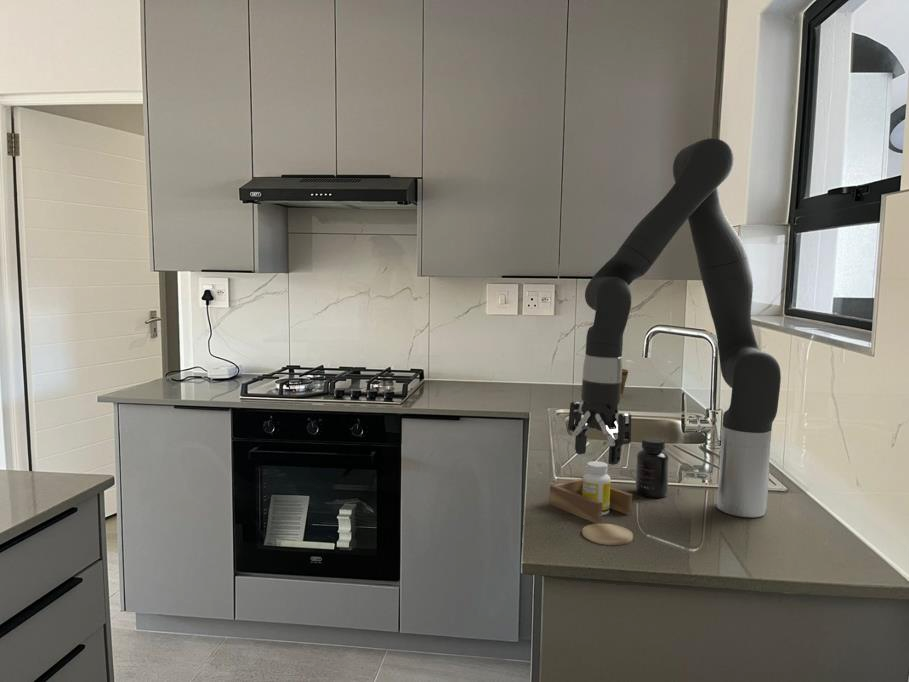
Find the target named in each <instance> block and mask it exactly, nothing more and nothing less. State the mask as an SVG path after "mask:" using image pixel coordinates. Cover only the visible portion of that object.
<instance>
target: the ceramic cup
mask: <svg viewBox="0 0 909 682" xmlns="http://www.w3.org/2000/svg"><path fill="white" fill-rule="evenodd" d="M628 375H629V370H628V369H626V368H625V369H624V368H622V380H621V394H620V396H622V397H623V394H624V391H625V386H626V382H627V379H628Z"/></svg>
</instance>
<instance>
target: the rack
mask: <svg viewBox="0 0 909 682" xmlns="http://www.w3.org/2000/svg"><path fill="white" fill-rule="evenodd" d="M548 504H549V506H552V507H554V508H557V509H558V510H559V509H560V510H562V511H564V512H567V513H569V514H571V515H574V516H577V517H579V518H582V519H584V520H587V521H589V522H592V523H593V524H602V516H603V515H602V502H599V501H596V500H593V499H591V498H588V497H585V496H583V477H581V478H576V479H574V480H568V481H565V482H564V481H563V482H560V483H556V484H551V485H550V486H549V502H548ZM632 507H633V493H630V492H628V491H624V490H620V489H618V488H615V487H611V486H610V507H609V509H611V510H614V511H616V512H619V513H622V514H625V515H627V516H629V515H632V512H633V511H632V509H633V508H632Z"/></svg>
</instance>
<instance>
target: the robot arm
mask: <svg viewBox="0 0 909 682" xmlns="http://www.w3.org/2000/svg"><path fill="white" fill-rule="evenodd" d="M734 164H735V157H734V152H733V150H732V148H731V146H730V145H729V144H728V143H727V142H726V141H724V140H722V139H719V138H715V137H712V138H711V137H710V138H705V139H701V140H699V141H696V142H694V143H692V144H690V145H688V146H685V147H683V148H682V149H681V150H680V151H679V152H678V153H676V155H675V158H674V160H673V165H672V175H673V179H674V182H675V183H674V184H673V185H672V187H671V188H670V189H669V191H668V192H666V194H665V196H664V197H663V198H662V199H661V200H660V201H659V202H658V203H657V204H656V205H655V206H654V207H653V208H652V209H651V210H650V211H649V212H648V213H647V214H646V215H645V216H644V217H643V218H642V219H641V220H640V221H639V222H638V224H637V225H636V226H635V227H634V228H633V229H632V230H631V232H630V234H629V235H628V236H627V237H626V239H625V240H624V242H623V243H622V244H621V246H620V247H619V248H618V249H617V251H616V253H615V254H614V255H613V256H612V257H611V258H610V259H609V260H607V262H606V263H604V265H603V266H602V267H600V269H599V270H598V271H597V272H596V273H595V274H594V275H593V276H592V278H591V279H590V280H589V282H588V283H587V285H586V288H585V291H584V299H585V303H586V304H587V306H588V307H589V308H590V309H592V310H593V311H595V313H594V319H593V325H592V326H590V327H588V330H587V331H586V339H585V342H586V343H585V354H584V355H585V356H584V360H583V361H584V362H583V367H582V368H583V369H582V380H581V381H582V382H581V396H580V397H581V400H582V401H583V402H582V401H572V402H570V403H569V404H570V405H569V412H568V413H569V414H568V422H567V429H568V431H569V432H570V431H571V432H573V434H574V435H575V440H574V441H575V442H574V449H575V453H576V454H577V455H580V456H581V455H585V453H586V451H587V438H588V436H587V435H586V434H587V433H588V432H589V430H590V429H596V430H597V431H601V432H602V434H603V435H604V436H605V437H606V438H607V440H608V442H609V444H610V445H609V447H608V448H609V449H608V460H607V461H608V463H607V464H608V465H611V466H614V465H617V464H619V462H620V461H621V454H622V453H621V452H622V446H624V445H629V444H631V442H632V436H631V435H632V413H630V412H625V413H624V412H623V413H622V412H619V409H618V405H619V404H620V402H621V397H620V394H621V380H622V369H623V361H622V359H623V357H622V356H623V345H624V344H623V343H624V342H623V341H624V333H625V330H626V327H627V323H628V319H629V315H630V312H631V308H632V292H631V288H630V285H631V284H632V283H633V282H634V281H635V280H636V279H639V278H641V277H643V276H644V275H645V274H646V273H648V271H649V270H650V269H651V267H652V266H653V265H654V263H655V262H656V260H657V259H658V258H659V257H660V255H661V253H662V252H663V251H664V250H665V248H666V247H667V245H668V244H669V243H670V242H671V240H672V239H673V237H674V236H675V235H676V234H677V232H678V231H679V230H680V228H681V227H682V226H683V225H684V224H685V223H686V221H687V220H688V224H689V227H690V228H689V229H690V233H691V238H692V241H693V246H694V250H695V254H696V259H697V264H698V269H699V272H700V273H699V274H700V277H701V281H702V285H703V288H704V293H705V296H706V301H707V304H708V308H709V312H710V315H711V318H712V322H713V325H714V329H715V335H716V340H717V341H716V342H717V349H718V357H719V365H720V366H719V367H720V371H721V375H722V378H723V380H724V382H725V383H726V384H727V385H728V387H729V388H731V397H730V405H729V407H728V409H726V410H725V411H724V412H723V416H722V426H721V427H722V428H721V443H720V457H719V468H718V469H719V472H718V483H717V484H718V486H717V498H716V508H717V509H718V510H720V511H721V512H723V513H725V514H728V515H732V516H736V517H742V518H760V517H763V516H765V514H766V511H767V507H768V494H769V484H770V483H769V482H770V481H769V480H770V468H771V467H770V457H771V455H770V454H771V443H772V430H773V423H774V420H775V418H776V417H777V413H778V407H779V400H780V399H779V398H780V391H781V379H782V376H781V375H782V374H781V368H780V364H779V362H778V361H777V359H776V358H775V357H774V355H771V354H770V353H768V352H766V351H762V350H760V348H759V345H758V343H757V339H756V335H755V332H754V329H753V324H752V316H751V315H752V314H751V313H752V303H753V291H754V289H753V288H754V286H753V283H754V282H753V274H752V272H751V271H752V270H751V266H750V261H749V257H748V253H747V250H746V248H745V246H744V243H743V241H742V239H741V238H740V236H739V235H738V233H737V231H736V230H735V228H734V227H733V225H732V224H731V222H730V221H729V220H728V217H727V216H726V213H725V212H724V208H723V206H722V203H721V197H720V194H719V193H720V192H719V188H718V187H720V185H721V184H723V182H724V181H726V179H728V177H729V176H730V174H731V173H732V170H733V169H734ZM582 416H583V417H582Z"/></svg>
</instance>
